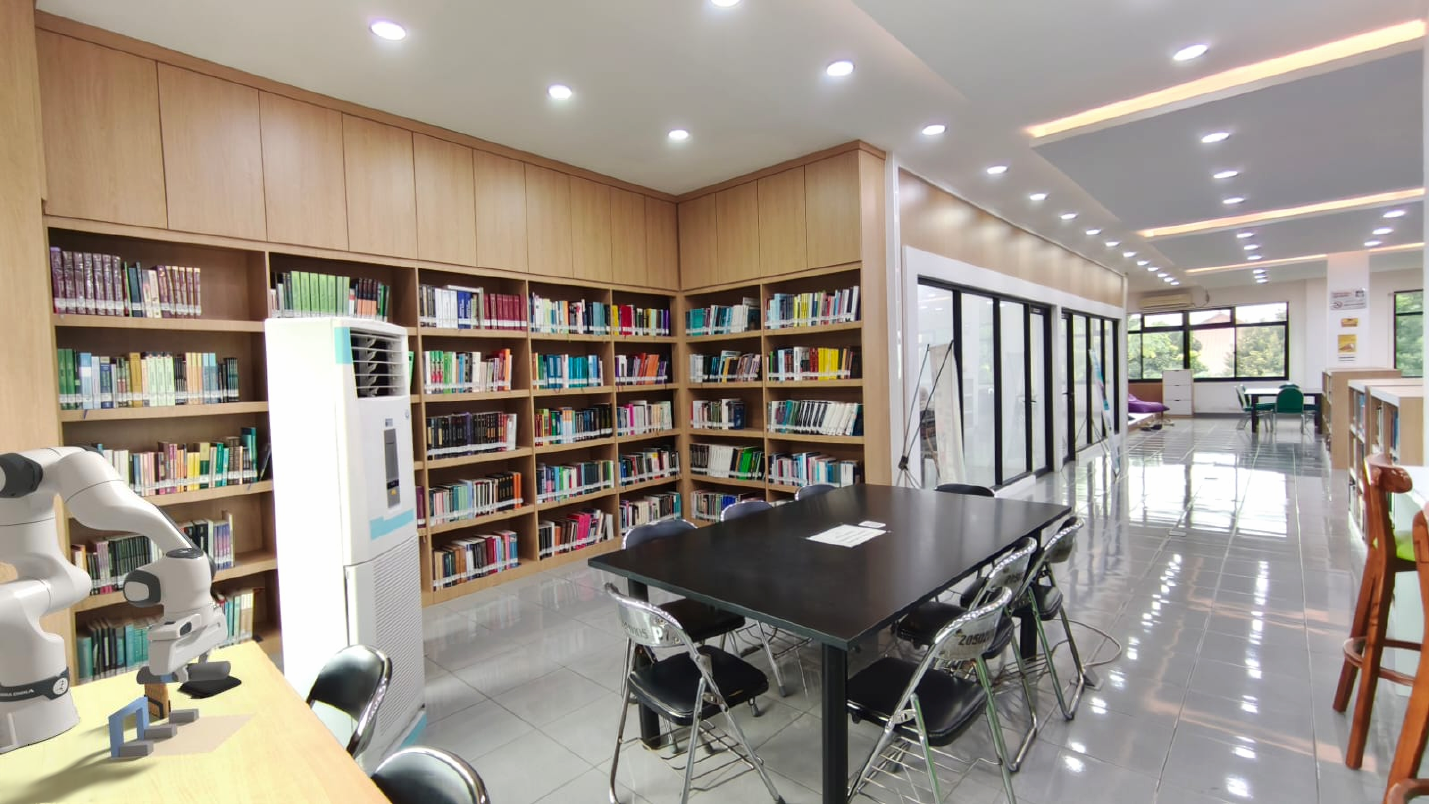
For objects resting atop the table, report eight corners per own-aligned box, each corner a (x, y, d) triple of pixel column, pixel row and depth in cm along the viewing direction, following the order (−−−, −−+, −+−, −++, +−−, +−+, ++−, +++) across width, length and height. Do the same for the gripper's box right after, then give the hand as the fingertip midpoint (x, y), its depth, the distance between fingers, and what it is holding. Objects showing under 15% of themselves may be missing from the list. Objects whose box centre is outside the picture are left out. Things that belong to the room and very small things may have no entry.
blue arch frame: (111, 758, 141) (108, 716, 141) (142, 736, 150) (140, 697, 150) (118, 757, 142) (115, 716, 141) (150, 735, 150) (147, 696, 150)
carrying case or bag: (171, 695, 172) (200, 706, 166) (171, 684, 172) (200, 695, 166) (216, 678, 182) (245, 688, 176) (215, 668, 182) (244, 677, 176)
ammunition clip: (172, 720, 159) (168, 673, 159) (163, 723, 157) (159, 676, 157) (153, 710, 164) (150, 665, 164) (144, 713, 163) (141, 668, 162)
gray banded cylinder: (136, 688, 144) (135, 670, 145) (150, 680, 149) (150, 663, 149) (219, 682, 146) (218, 664, 146) (231, 674, 150) (230, 657, 150)
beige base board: (108, 763, 141) (107, 748, 141) (167, 723, 157) (166, 709, 157) (211, 756, 143) (210, 741, 142) (259, 717, 159) (258, 703, 159)
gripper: (207, 603, 157) (210, 657, 158) (139, 636, 137) (144, 698, 137) (233, 601, 158) (237, 655, 158) (170, 634, 137) (175, 696, 138)
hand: (193, 675), depth 148 cm, fingers closed on gray banded cylinder, 4 cm apart
